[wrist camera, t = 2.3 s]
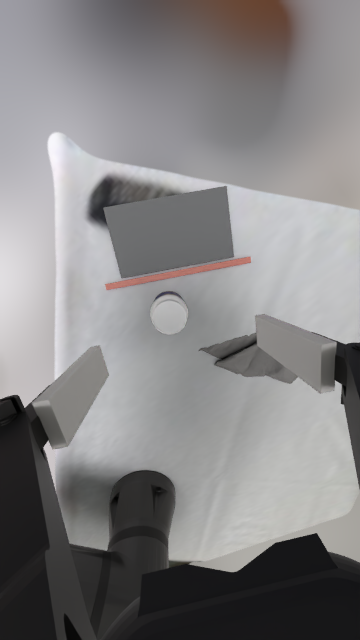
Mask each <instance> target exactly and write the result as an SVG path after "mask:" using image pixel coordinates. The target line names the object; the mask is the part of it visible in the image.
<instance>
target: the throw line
mask: <svg viewBox="0 0 360 640" xmlns="http://www.w3.org/2000/svg"><path fill="white" fill-rule="evenodd" d="M246 263H251V258H250V257H246V258H241V259H236V260H230V261H225V262H220V263H215V264H209V265H204V266H199V267H194V268H188V269H183V270H178V271H173V272H167V273H162V274H157V275H152V276H146V277H141V278H136V279H131V280H125V281H120V282H115V283H110V284H105V285H106V289H107V290H110V289H115V288H120V287H126V286H131V285H136V284H141V283H146V282H152V281H157V280H162V279H167V278H173V277H178V276H183V275H188V274H193V273H199V272H204V271H209V270H214V269H220V268H225V267H230V266H235V265H240V264H246Z"/></svg>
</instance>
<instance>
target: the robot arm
mask: <svg viewBox="0 0 360 640" xmlns="http://www.w3.org/2000/svg"><path fill="white" fill-rule="evenodd" d="M255 321H256V335H257V346H258V347H260V348H261V349H262V350H264V351H265V352H266V353H268V354H269V355H270V356H271V357H273V358H274V359H275V360H277V361H278V362H279V363H281V364H282V365H283V366H285V367H286V368H287V369H289V370H290V371H291V372H293V373H294V374H295V375H296V376H298V377H299V378H300V379H302V380H303V381H304V382H306V383H307V384H308V385H310V386H311V387H312V388H314V389H315V390H316V391H318V392H319V393H320V394H321V393H326V392H331V391H334V388H335V380H336V381H337V382H339V383H341V384H342V394H341V404H344V407H345V412H346V418H347V423H348V429H349V434H350V439H351V445H352V450H353V456H354V461H355V467H356V472H357V478H358V483H359V489H360V343H348V344H343V343H340V342H338V341H335V340H332V339H328V338H327V337H325V336H322V335H319V334H317V333H313V332H309V331H307V330H304V329H301V328H299V327H296V326H294V325H291V324H289V323H286V322H283V321H281V320H278V319H276V318H273V317H270V316H268V315H265V314H261V315H256V316H255ZM108 376H109V373H108V370H107V367H106V364H105V360H104V357H103V354H102V351H101V348H100V346H95V347H90V348H89V349H88V350H87V351H86V352H85V353H84V354H83V355H82V356H81V357H80V358H79V359H78V360H77V361H76V362H74V363H73V364H72V365H71V366H70V367H69V368H68V369H67V370H66V371H65V372H64V373H63V374H62V375H61V376H60V377H59V378H58V379H57V380H55V381H54V382H53V383H52V384H51V385H49V386H48V387H47V388H46V389H45V390H44V391H43V392H42V393H40V394H39V395H38V397H37V398H35V399H34V400H33V401H32V402H31V403H30V404H29V405H28V406H27V407H26V408H24V406H23V404H22V402H21V399H20V397H19V396H18V395H12V396H9V397H5V398H3V399H0V640H360V563H359V562H357V561H354V560H352V559H350V558H347V557H345V556H342V555H339V554H335V553H331V552H328V551H327V550H326V548H325V546H324V545H323V543H322V541H321V539H320V538H319V536H318V534H317V533H315V534H312V535H307V536H303V537H299V538H294V539H290V540H286V541H282V542H277V543H275V544H273V545H272V546H271V547H269V548H268V549H267V550H265V551H264V552H263V553H261V554H260V555H259V556H257V557H256V558H255V559H254V560H252V561H251V562H250V563H248V564H247V565H246V566H244V567H243V568H242V569H241V570H239V571H237V572H226V571H221V570H215V569H210V568H204V567H199V566H194V565H188V564H184V565H180V566H176V567H171V568H169V560H168V537H169V532H170V527H171V523H172V518H173V513H174V508H175V489H174V486H173V484H172V482H171V481H170V480H169V479H168V478H167V477H165V476H164V475H162V474H159V473H156V472H151V471H140V472H135V473H131V474H129V475H127V476H125V477H123V478H122V479H121V480H119V481H118V482H117V483H116V485H115V486H114V488H113V490H112V494H111V498H110V503H109V545H108V550H107V551H104V550H100V549H94V548H89V547H84V546H78V545H73V544H69V541H68V537H67V533H66V529H65V526H64V522H63V518H62V514H61V510H60V506H59V503H58V499H57V495H56V491H55V487H54V483H53V480H52V476H51V472H50V468H49V464H48V461H47V457H46V453H45V451H44V449H43V447H44V445H45V444H46V443H47V441H48V440H49V443H50V445H51V447H52V449H58V448H63V447H68V446H69V444H70V442H71V441H72V439H73V437H74V435H75V434H76V432H77V430H78V428H79V427H80V425H81V423H82V421H83V420H84V418H85V416H86V414H87V413H88V411H89V409H90V407H91V406H92V404H93V402H94V400H95V399H96V397H97V395H98V393H99V392H100V390H101V388H102V386H103V385H104V383H105V381H106V379H107V378H108Z"/></svg>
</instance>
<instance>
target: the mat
mask: <svg viewBox="0 0 360 640" xmlns="http://www.w3.org/2000/svg"><path fill="white" fill-rule="evenodd" d="M103 209H104V213H105V217H106V221H107V224H108V228H109V232H110V236H111V240H112V244H113V247H114V251H115V255H116V259H117V263H118V267H119V271H120V274H121V278H126V277H131V276H136V275H141V274H147V273H152V272H157V271H163V270H168V269H173V268H178V267H184V266H189V265H194V264H199V263H205V262H210V261H215V260H220V259H226V258H231V257H234V253H233V243H232V234H231V224H230V215H229V205H228V195H227V186H224V187H218V188H212V189H207V190H201V191H195V192H189V193H184V194H178V195H172V196H167V197H161V198H155V199H150V200H144V201H138V202H133V203H127V204H121V205H116V206H110V207H104V208H103Z"/></svg>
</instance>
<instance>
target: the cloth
mask: <svg viewBox="0 0 360 640" xmlns="http://www.w3.org/2000/svg"><path fill="white" fill-rule="evenodd" d="M255 343H256V344H255ZM253 344H254V345H253ZM244 348H245V349H244ZM242 349H244V350H242ZM200 350H203V351H205V352H207V353H209V354H211V355H213V356H215V357H217V358H219V359H222V360H220V361H218V362H217V363H216V364H215V365H216V366H219V367H222V368H224V369H227V370H229V371H231V372H234V373H236V374H242V375H243V376H246V377H253V376H265V375H267V376H270V377H272V378H275V379H277V380H280V381H282V382H286V383H289V384H291V383H292V382H293V381H294V380H295V379H296V378H297V377H298V376H296V375H295V374H294V373H293V372H291V371H290V370H289V369H287V368H286V367H285V366H283V365H282V364H281V363H279V362H278V361H277V360H275V359H274V358H273V357H271V356H270V355H269V354H268V353H266V352H265V351H264V350H262V349H261V348H260V347H258V346H257V335H256V333H254V334H251V335H250V336H247V335H245V336H242V337H239V338H235V339H233V340H229V341H226V342H224V343H221V344H215V345H213V346H210V347H208V348H202V349H200ZM200 350H199V351H200ZM240 350H242V351H240ZM238 351H240V352H238ZM236 352H238V353H236ZM234 353H236V354H234ZM232 354H234V355H232ZM230 355H232V356H230ZM229 356H230V357H229Z"/></svg>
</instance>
